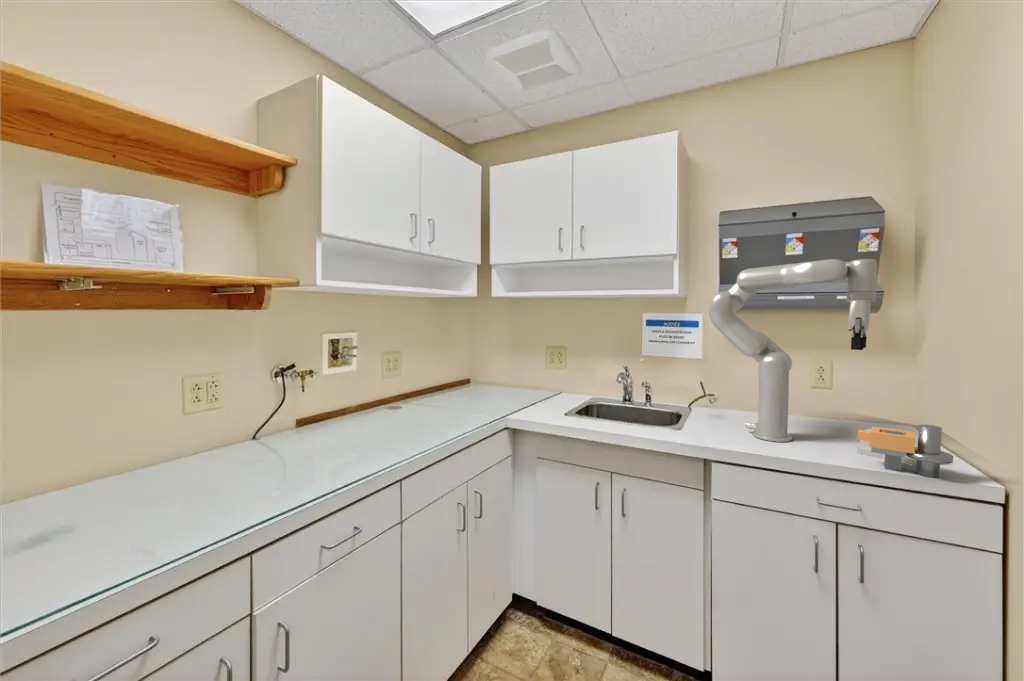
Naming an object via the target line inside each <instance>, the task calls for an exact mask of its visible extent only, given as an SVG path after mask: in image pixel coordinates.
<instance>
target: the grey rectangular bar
mask: <svg viewBox="0 0 1024 681" xmlns="http://www.w3.org/2000/svg"><path fill="white" fill-rule="evenodd" d="M886 433H892V434H900V435H903V434H902V432H894V431H886ZM901 458H902V457H899V456H893V455H887V454H885V459H884V465H883V466H884V469H885V470H886V469H887V470H890V471H891V470H892V471H898V472H901V471H902V463H901Z"/></svg>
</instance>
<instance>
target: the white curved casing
mask: <svg viewBox="0 0 1024 681" xmlns="http://www.w3.org/2000/svg"><path fill="white" fill-rule="evenodd" d="M864 430H865V431H871V428H866V429H864ZM869 446H870V441H863V440H859V443H858V446H857V447H856V452H855V453H856V454H859V455H863V454H864V455H865V456H869V457H872V458H873V457H874V458H877V457H878V458H877V459H882V458H883V460H885V454H880V453H874V452H871V449H872V447H869ZM915 447H918V436H916V435H915ZM901 462H902V463H901V464H905V463H906V464H905V465H910V464H912V465H911V466H915V465H916V467H917V460H916V459H913V458H910V457H908V456H906V455H905V457H902V458H901Z"/></svg>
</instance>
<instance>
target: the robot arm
mask: <svg viewBox="0 0 1024 681" xmlns="http://www.w3.org/2000/svg"><path fill="white" fill-rule="evenodd" d="M877 276H878V262H877V259H876V260H875V259H873V258H863V259H862V258H861V259H854V260H851V261H843V260H842V259H838V258H830V259H821V260H814V261H813V260H812V261H805V262H798V263H786V264H785V263H784V264H780V265H779V264H778V265H771V266H762V267H753V268H752V267H751V268H746V269H744V270H743V269H742V270H741V271H740V272H739V273H738V274H737V276H736V282H735V283H734V284H733V285H732V286H731V287H730V288H729V289H728V290H727V291H720V292H718V293H716V294H715V295H713V297H712V298H711V301H710V302H709V306H708V315H709V318H710V321H711V323H712V324H713V326H714V328H716V330H718V331H719V332H720V333H721V334H722V335H723V336H724V337H725V338H726V339H727V340H728V341H729V342H730V344H732V345H733V346H734V347H735V348H737V350H738V351H739V352H740V353H741V354H743V355H744V356H746V357H750V358H751V357H752V358H753V359H754V360H755V361H756V363H757V362H758V369H757V370H758V407H757V408H758V410H757V411H758V414H757V423H756V422H755V423H751V422H745V428H747V429H748V430H753V431H752V436H753V437H754V438H756V439H760V440H764V441H768V442H779V443H784V442H791V441H792V440H793V436H792V434H790V433H788V428H789V427H788V426H789V424H788V422H789V402H790V401H789V395H790V394H789V392H790V391H789V390H790V387H789V386H790V371H791V369H792V367H793V361H792V358H791V356H790V354H788V353H787V352H786V351H785V350H784V349H782V348H781V347H780V346H779V345H777V344H778V343H776V342H774V341H773V339H771V338H770V337H768V335H766V334H764V332H761V331H758V330H756V331H755V330H754V329H753V328H751V327H750V326H749V325H748V324H747V323H746V322H744V320H742V319H741V318H740V317H739V316H737V315H736V314H735V313H736V312H738V311H740V310H741V308H743V306H745V305H746V304H747V303H748V302H749V301H750V300H751V299H752V298H753V297H754V296H756V295H757V293H758V292H759V291H768V290H780V289H790V288H793V287H796V286H800V285H801V286H802V285H810V284H811V285H813V284H820V283H822V284H823V283H830V284H837V283H845V282H846V283H847V288H846V289H847V290H846V302H848V303H850V304H849V310H848V322H847V323H848V324H847V331H848V332H852V334H851V338H850V349H851V350H852V351H853V350H854V351H856V350H857V351H863V350H864V349H866V348H867V331H868V330H869V326H870V317H871V304H872V302H876V300H877V298H876V297H877V296H876V295H877Z"/></svg>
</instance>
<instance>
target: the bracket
mask: <svg viewBox="0 0 1024 681" xmlns="http://www.w3.org/2000/svg"><path fill="white" fill-rule="evenodd" d="M870 429H871V431H865V430H866V429H863V430H862V429H858V430H857V440H859V441H860V440H863V441H870V446H869V447H874V448H881V449H887V450H893V451H900V452H906V453H913V454H915V436H916V431H909V430H907V431H906V430H902V429H893V428H887V427H886V428H885V427H878V426H871V428H870ZM886 431H894V432H902V434H903V435H900V434H892V433H886Z"/></svg>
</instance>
